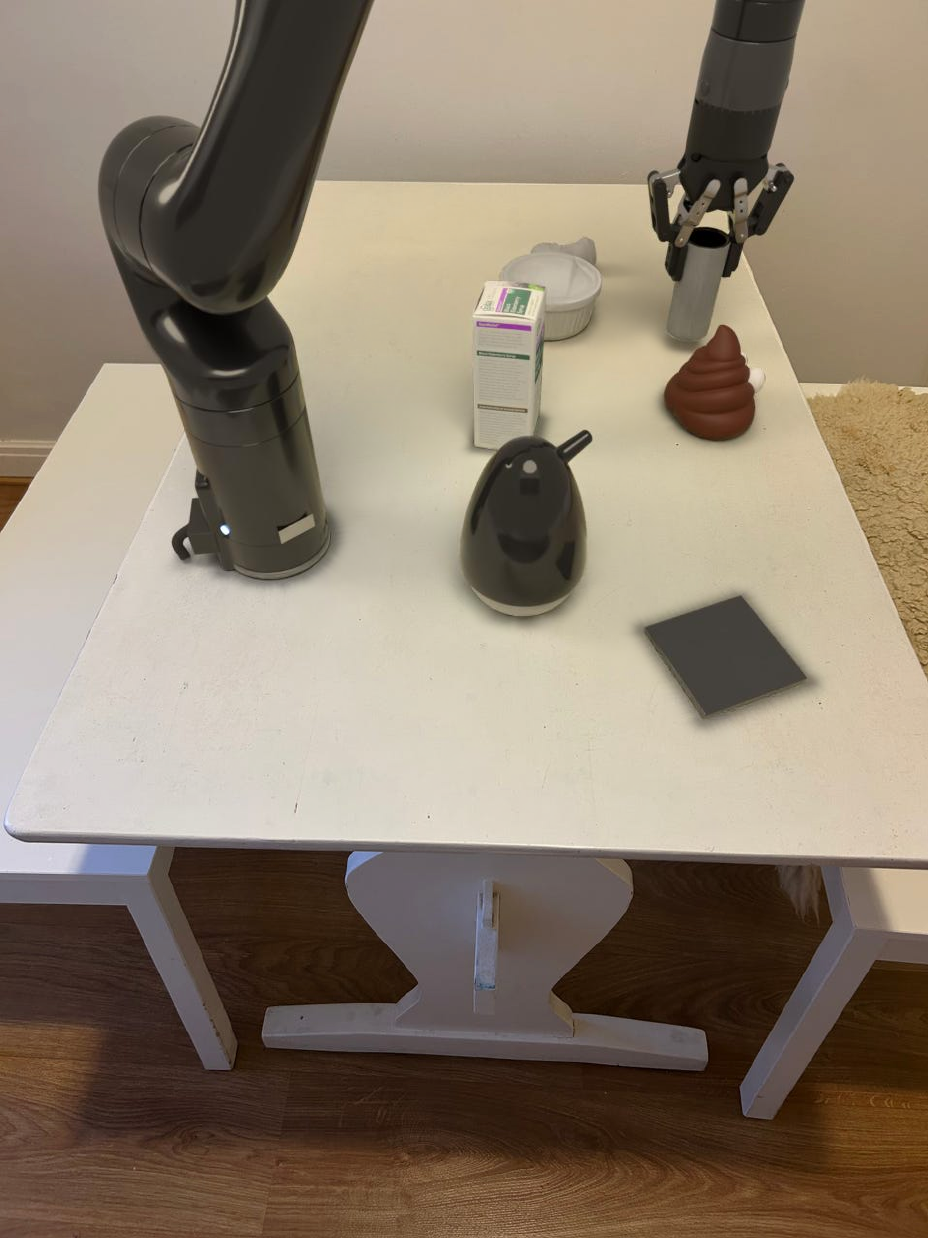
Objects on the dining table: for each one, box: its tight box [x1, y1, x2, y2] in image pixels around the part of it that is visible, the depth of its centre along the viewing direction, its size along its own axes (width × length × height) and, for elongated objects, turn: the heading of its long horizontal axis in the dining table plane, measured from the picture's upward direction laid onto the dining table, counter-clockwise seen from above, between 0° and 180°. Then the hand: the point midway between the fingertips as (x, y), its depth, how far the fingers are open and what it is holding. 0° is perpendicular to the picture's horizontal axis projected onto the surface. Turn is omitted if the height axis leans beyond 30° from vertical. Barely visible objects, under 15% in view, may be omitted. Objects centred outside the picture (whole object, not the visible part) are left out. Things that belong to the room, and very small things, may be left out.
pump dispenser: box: [458, 429, 593, 617], centre depth 64 cm, size 10×10×15 cm
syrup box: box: [471, 280, 547, 451], centre depth 77 cm, size 6×6×14 cm
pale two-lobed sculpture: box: [529, 236, 598, 267], centre depth 101 cm, size 4×8×5 cm
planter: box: [665, 226, 731, 342], centre depth 87 cm, size 4×4×10 cm
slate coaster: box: [643, 594, 808, 720], centre depth 65 cm, size 9×9×1 cm
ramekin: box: [498, 252, 603, 341], centre depth 94 cm, size 11×11×5 cm
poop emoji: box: [663, 324, 766, 441], centre depth 81 cm, size 10×8×9 cm
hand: (698, 274), depth 86 cm, fingers closed on planter, 4 cm apart
